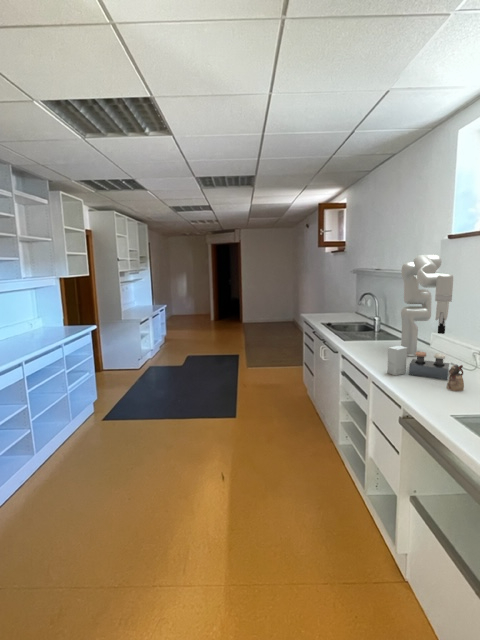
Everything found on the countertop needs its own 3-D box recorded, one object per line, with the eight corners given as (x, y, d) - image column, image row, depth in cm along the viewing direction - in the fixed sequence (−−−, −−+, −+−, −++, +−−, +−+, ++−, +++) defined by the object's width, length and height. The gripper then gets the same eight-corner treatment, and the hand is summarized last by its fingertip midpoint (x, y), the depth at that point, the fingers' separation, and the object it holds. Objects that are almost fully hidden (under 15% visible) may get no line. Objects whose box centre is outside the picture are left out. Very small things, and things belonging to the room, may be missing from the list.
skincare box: (397, 370, 202) (398, 345, 200) (406, 373, 197) (407, 347, 195) (386, 373, 199) (387, 346, 196) (395, 376, 193) (396, 349, 191)
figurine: (446, 385, 178) (448, 361, 176) (463, 387, 174) (465, 363, 172) (446, 389, 172) (447, 365, 170) (463, 392, 168) (465, 367, 166)
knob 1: (415, 364, 200) (416, 351, 199) (425, 365, 197) (426, 352, 196) (414, 366, 196) (415, 353, 195) (424, 367, 193) (425, 354, 192)
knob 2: (433, 366, 195) (434, 353, 194) (444, 367, 192) (445, 354, 191) (432, 369, 191) (433, 355, 190) (443, 370, 188) (444, 356, 187)
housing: (412, 369, 205) (412, 358, 204) (448, 373, 195) (449, 363, 194) (408, 374, 195) (409, 364, 194) (447, 380, 185) (447, 368, 184)
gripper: (436, 296, 194) (434, 330, 197) (433, 299, 182) (431, 335, 185) (452, 297, 190) (450, 331, 193) (450, 300, 178) (448, 336, 180)
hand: (441, 333), depth 189 cm, fingers closed
